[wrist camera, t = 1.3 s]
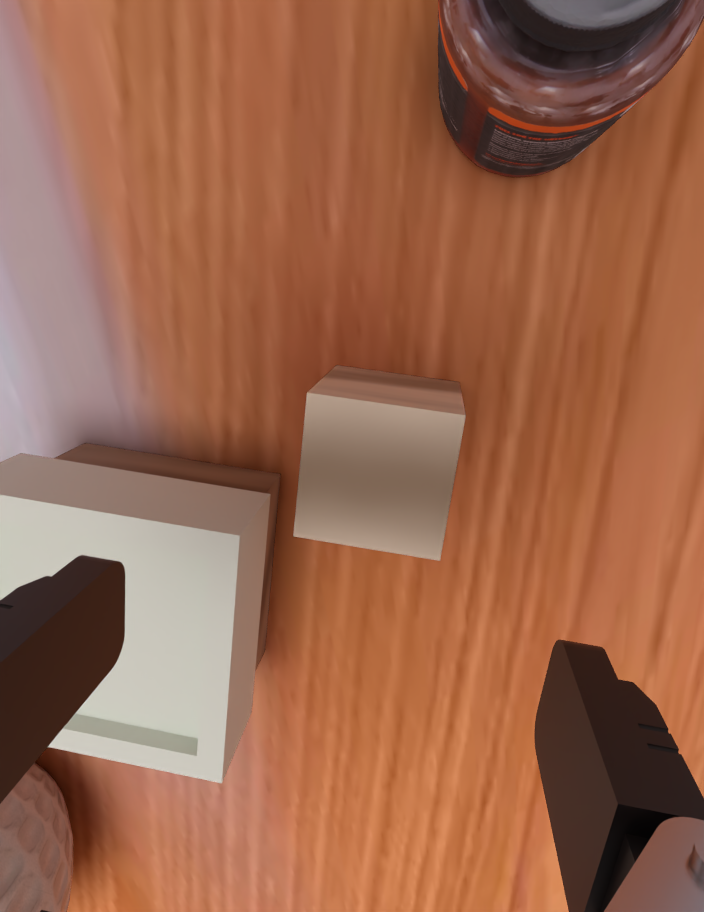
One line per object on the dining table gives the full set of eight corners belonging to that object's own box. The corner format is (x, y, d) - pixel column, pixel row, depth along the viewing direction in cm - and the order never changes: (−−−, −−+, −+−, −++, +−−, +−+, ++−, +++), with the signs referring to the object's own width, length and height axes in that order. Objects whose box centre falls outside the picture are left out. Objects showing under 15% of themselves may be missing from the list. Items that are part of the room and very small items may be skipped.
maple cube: (336, 364, 25) (306, 392, 19) (459, 381, 25) (465, 415, 19) (324, 479, 27) (293, 536, 21) (439, 497, 26) (439, 560, 20)
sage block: (20, 453, 24) (-53, 485, 20) (270, 494, 23) (239, 535, 19) (30, 668, 27) (-32, 730, 23) (251, 712, 26) (221, 783, 22)
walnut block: (89, 441, 28) (34, 467, 24) (282, 471, 27) (257, 504, 23) (91, 613, 31) (42, 662, 27) (266, 646, 30) (241, 700, 26)
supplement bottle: (636, 134, 21) (839, -6, 11) (472, 208, 23) (503, 152, 12) (583, -51, 20) (752, -425, 9) (412, 39, 21) (387, -194, 11)
